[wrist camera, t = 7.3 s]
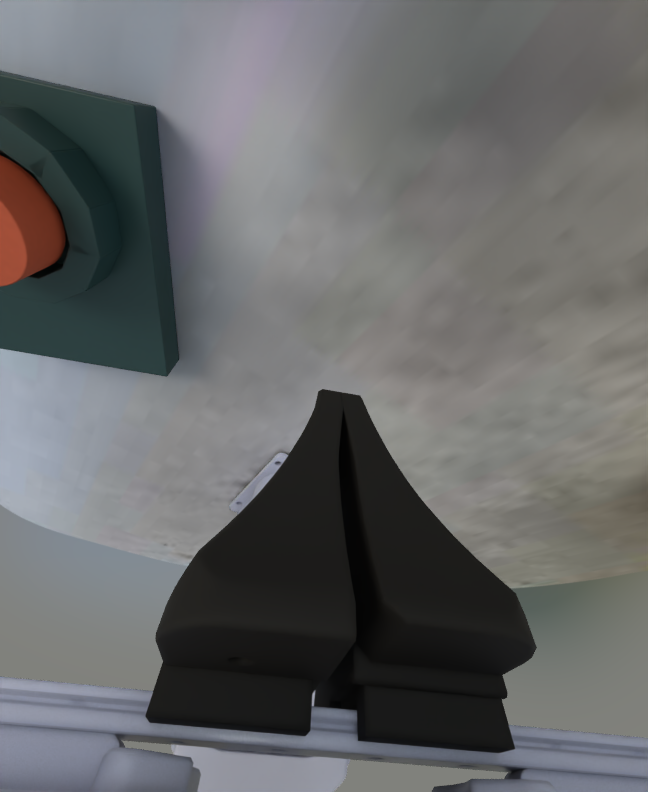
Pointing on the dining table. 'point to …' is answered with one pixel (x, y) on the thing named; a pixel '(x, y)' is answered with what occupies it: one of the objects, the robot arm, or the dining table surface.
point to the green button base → (92, 229)
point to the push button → (26, 225)
